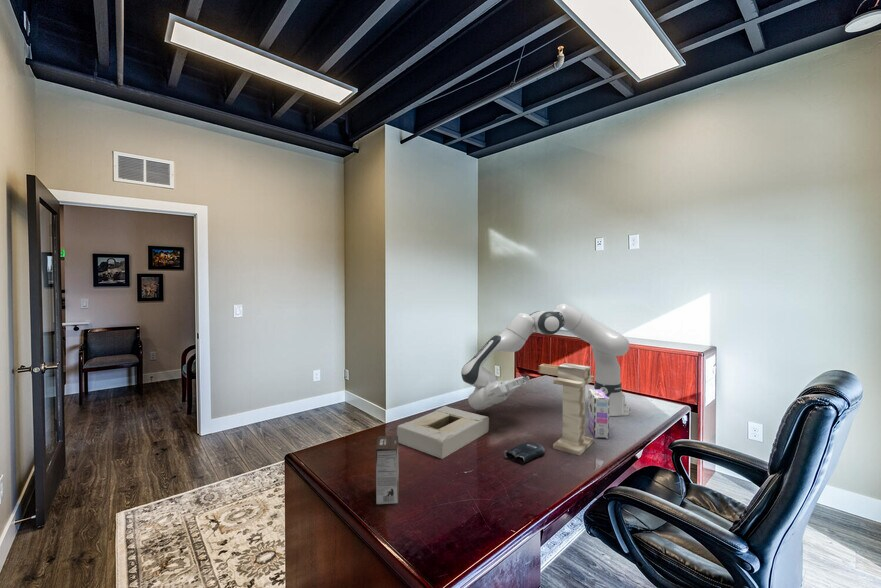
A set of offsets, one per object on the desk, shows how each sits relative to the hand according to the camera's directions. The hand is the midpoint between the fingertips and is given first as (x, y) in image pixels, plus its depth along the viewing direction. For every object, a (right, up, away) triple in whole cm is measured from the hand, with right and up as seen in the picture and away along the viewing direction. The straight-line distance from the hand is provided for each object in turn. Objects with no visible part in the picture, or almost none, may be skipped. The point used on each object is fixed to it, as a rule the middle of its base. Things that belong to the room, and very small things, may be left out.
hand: (522, 380), depth 161 cm
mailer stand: (+17, -22, -13) cm, 31 cm away
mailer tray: (+13, +4, -11) cm, 18 cm away
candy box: (+31, -22, -1) cm, 38 cm away
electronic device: (-3, -23, -21) cm, 31 cm away
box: (-33, -23, -5) cm, 40 cm away
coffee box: (-50, -24, -47) cm, 73 cm away
